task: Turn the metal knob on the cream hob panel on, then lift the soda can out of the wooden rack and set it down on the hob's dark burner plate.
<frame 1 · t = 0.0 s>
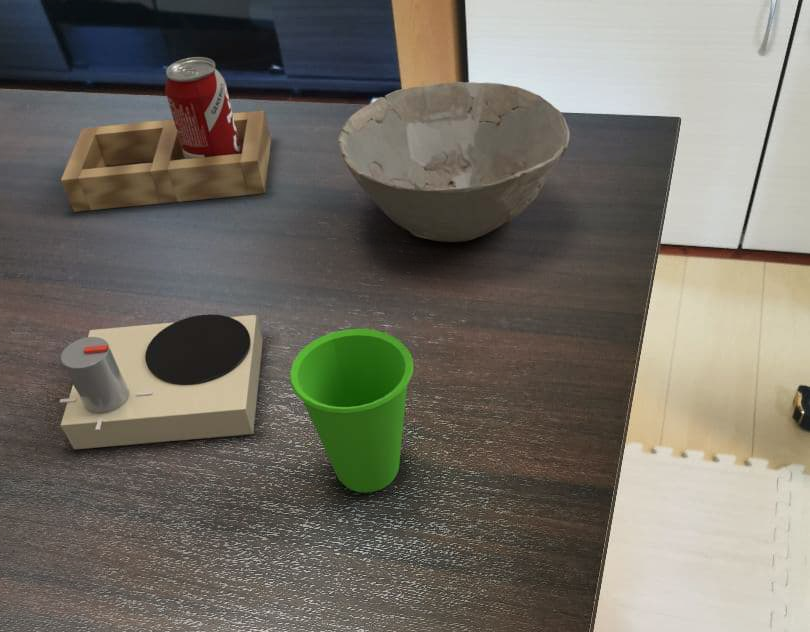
hob: (173, 392, 78), on the table
soda can: (218, 173, 103), resting in rack
burner: (198, 349, 76), resting on hob
ceramic bowl: (455, 223, 92), on the table
knob: (95, 373, 71), point 6 cm above the table, hinge at 0.0°
cup: (368, 472, 70), on the table
rack: (175, 175, 103), on the table
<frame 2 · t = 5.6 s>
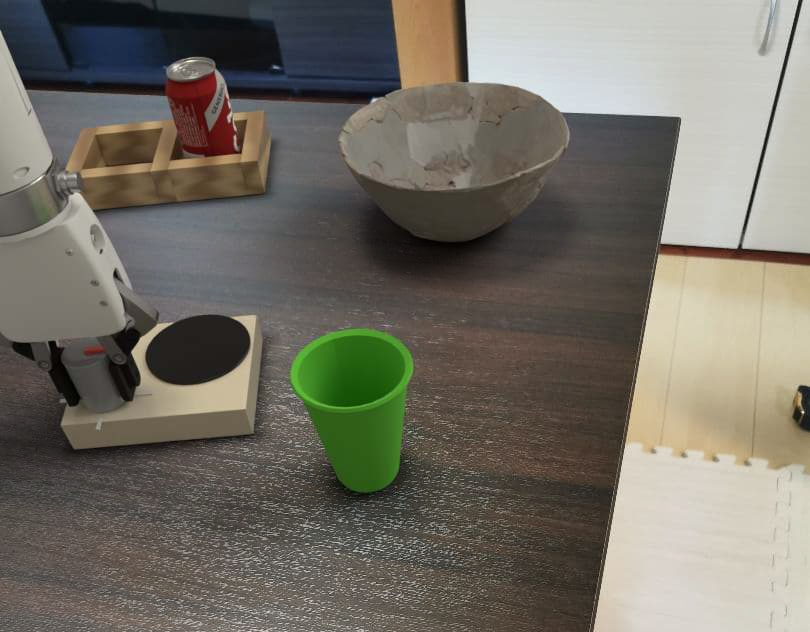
hand: (103, 391, 73), 4 cm above the table, tool pointing down, fingers closed on knob, 4 cm apart
knob: (95, 373, 71), point 6 cm above the table, hinge at 0.1°, touching gripper
everything else where it was.
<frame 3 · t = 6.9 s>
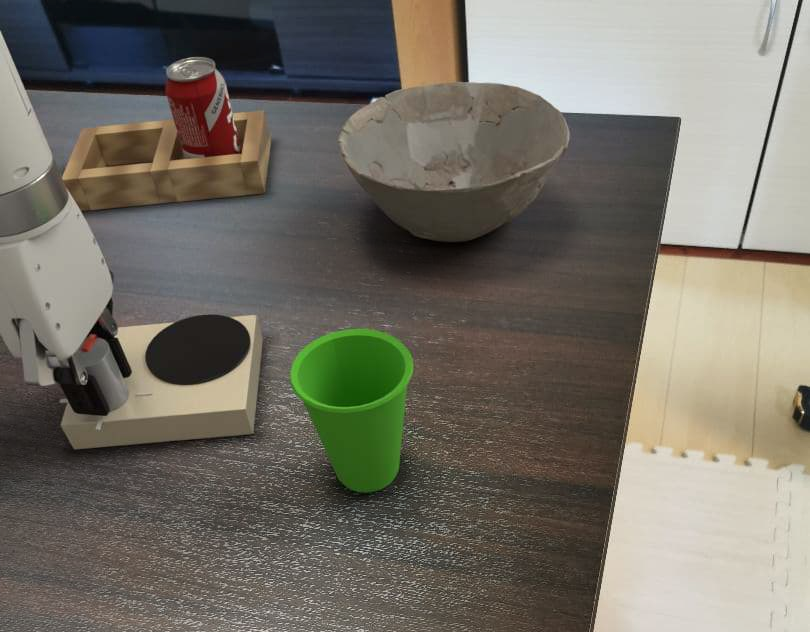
hand: (103, 391, 73), 4 cm above the table, tool pointing down, fingers closed on knob, 4 cm apart
knob: (95, 373, 71), point 6 cm above the table, hinge at 76.5°, touching gripper
everything else where it was.
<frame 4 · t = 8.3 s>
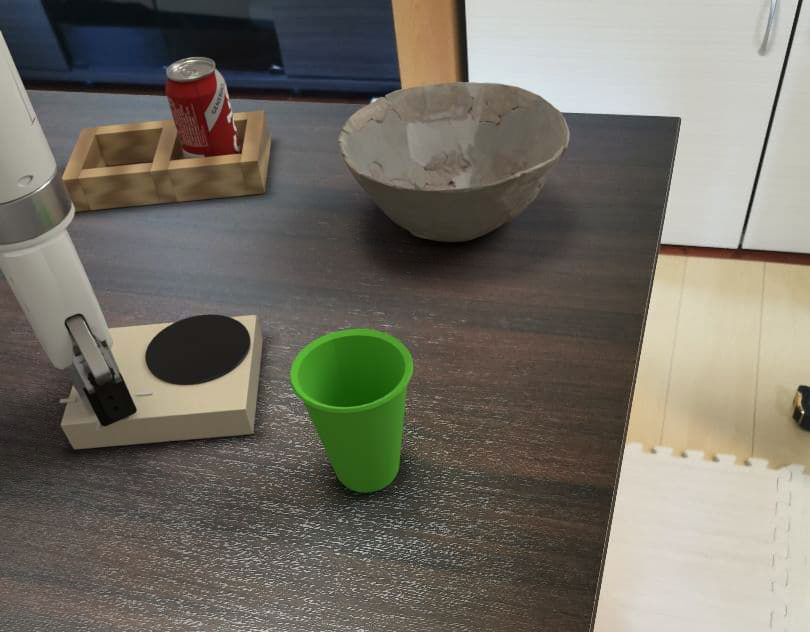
hand: (104, 393, 73), 3 cm above the table, tool pointing down, fingers open, 6 cm apart
knob: (95, 373, 71), point 6 cm above the table, hinge at 119.0°
everything else where it was.
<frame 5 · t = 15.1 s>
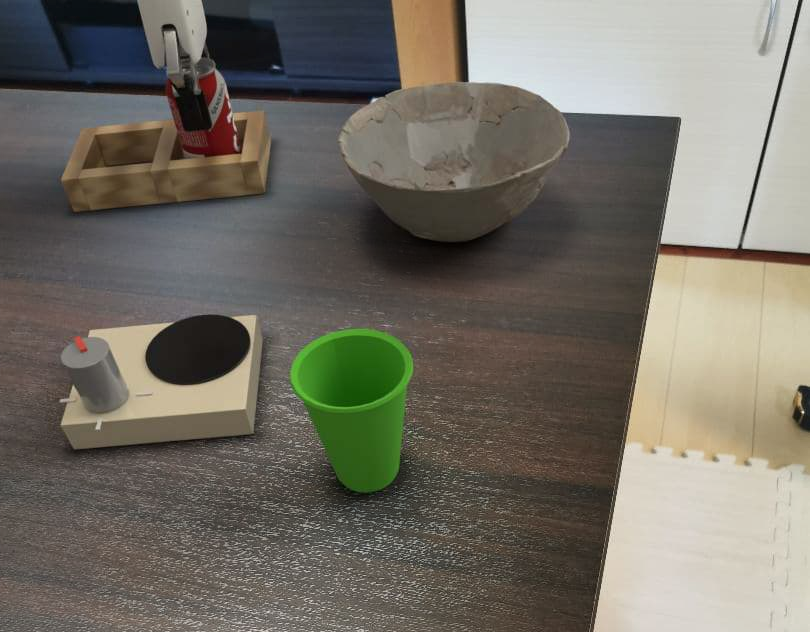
hand: (202, 112, 97), 7 cm above the table, tool pointing down, fingers closed on soda can, 6 cm apart
soda can: (218, 173, 103), resting in rack, touching gripper
everything else where it was.
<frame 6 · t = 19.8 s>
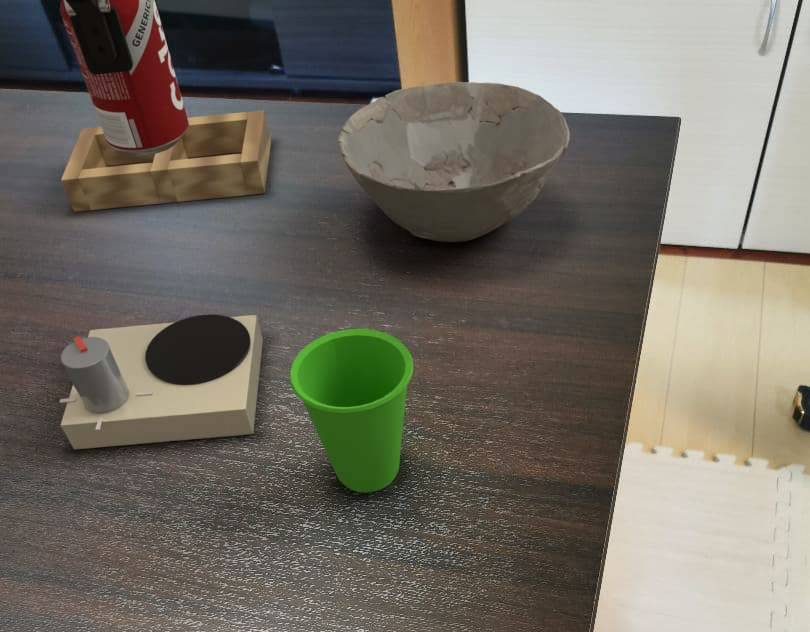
hand: (120, 47, 63), 26 cm above the table, tool pointing down, fingers closed on soda can, 6 cm apart
soda can: (151, 143, 69), point 18 cm above the table, touching gripper
everything else where it was.
when the fingers open (10 cm above the table, at t = 24.4 s): soda can stays where it is, resting on burner.
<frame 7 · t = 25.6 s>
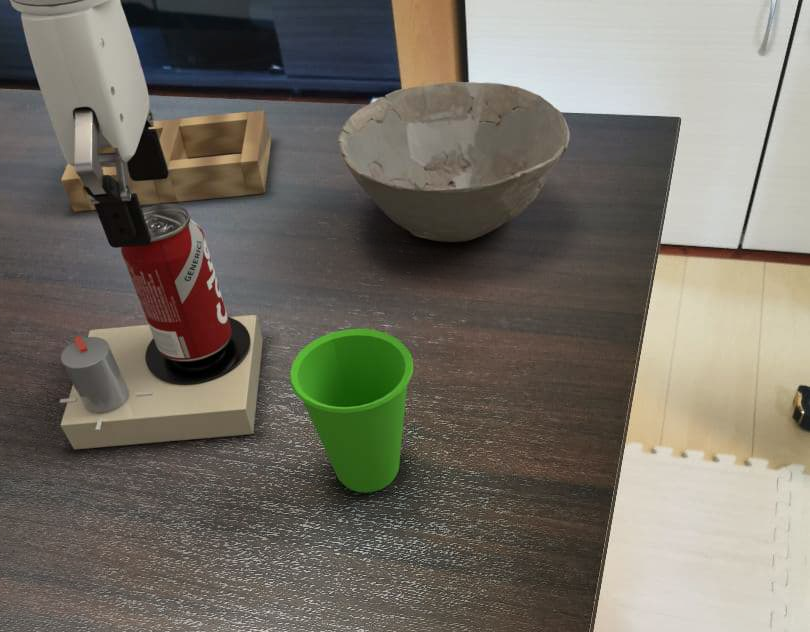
hand: (141, 210, 68), 16 cm above the table, tool pointing down, fingers open, 9 cm apart
soda can: (197, 347, 76), point 3 cm above the table, touching burner
everything else where it was.
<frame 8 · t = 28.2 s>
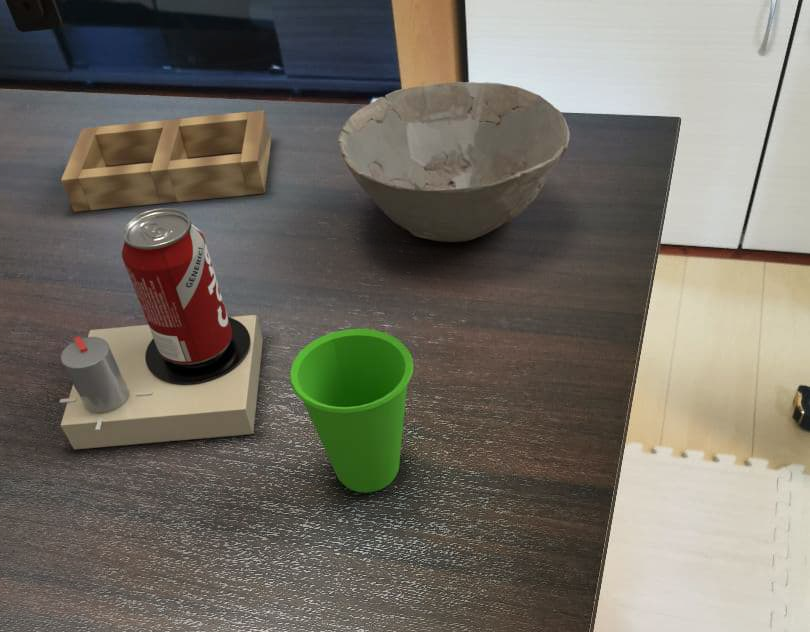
hand: (56, 2, 63), 28 cm above the table, tool pointing down, fingers open, 9 cm apart
nothing on the table moved.
at the end: knob at +119° (first picture: +0°); soda can 0.0 cm from the target spot on the hob, point 3.1 cm above the hob's base; soda can tilted 0° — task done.
